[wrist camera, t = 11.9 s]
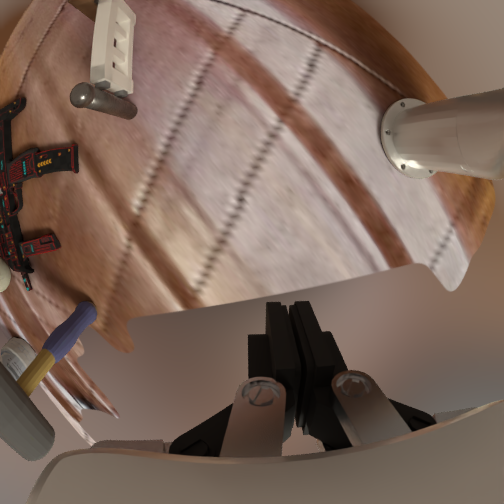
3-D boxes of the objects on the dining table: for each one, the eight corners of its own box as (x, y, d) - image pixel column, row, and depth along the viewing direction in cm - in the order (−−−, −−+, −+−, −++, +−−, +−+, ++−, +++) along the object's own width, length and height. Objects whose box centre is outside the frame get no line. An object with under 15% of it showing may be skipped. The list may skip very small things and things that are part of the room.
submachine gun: (99, 284, 39) (5, 295, 38) (108, 275, 43) (15, 288, 42) (66, 70, 29) (-26, 126, 28) (77, 75, 32) (-14, 126, 31)
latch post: (126, 17, 28) (90, -19, 16) (124, 29, 29) (86, -6, 17) (110, 22, 28) (72, -12, 16) (108, 33, 29) (67, 1, 17)
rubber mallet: (61, 282, 42) (-50, 384, 13) (89, 270, 41) (-33, 385, 12) (93, 340, 45) (16, 460, 17) (123, 332, 45) (46, 470, 16)
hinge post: (138, 101, 33) (88, 76, 19) (138, 119, 34) (85, 102, 20) (121, 104, 33) (65, 83, 19) (120, 122, 34) (63, 109, 20)
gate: (136, 15, 28) (113, -11, 19) (133, 97, 32) (104, 83, 24) (124, 18, 28) (99, -6, 19) (120, 100, 32) (89, 88, 24)
